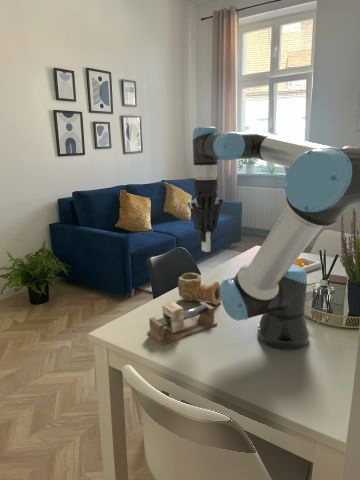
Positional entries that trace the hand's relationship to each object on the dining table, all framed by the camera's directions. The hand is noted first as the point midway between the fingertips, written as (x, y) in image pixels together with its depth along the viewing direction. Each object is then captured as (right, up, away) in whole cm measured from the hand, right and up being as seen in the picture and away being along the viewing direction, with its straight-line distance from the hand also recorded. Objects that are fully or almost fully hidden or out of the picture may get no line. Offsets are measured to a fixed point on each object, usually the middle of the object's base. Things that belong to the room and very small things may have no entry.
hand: (206, 250), depth 120 cm
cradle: (-8, -25, -2) cm, 26 cm away
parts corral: (+47, -9, +54) cm, 72 cm away
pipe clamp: (+45, -10, +53) cm, 70 cm away
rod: (-8, -22, -3) cm, 24 cm away
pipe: (-1, -20, +18) cm, 27 cm away
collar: (-11, -24, -5) cm, 27 cm away
